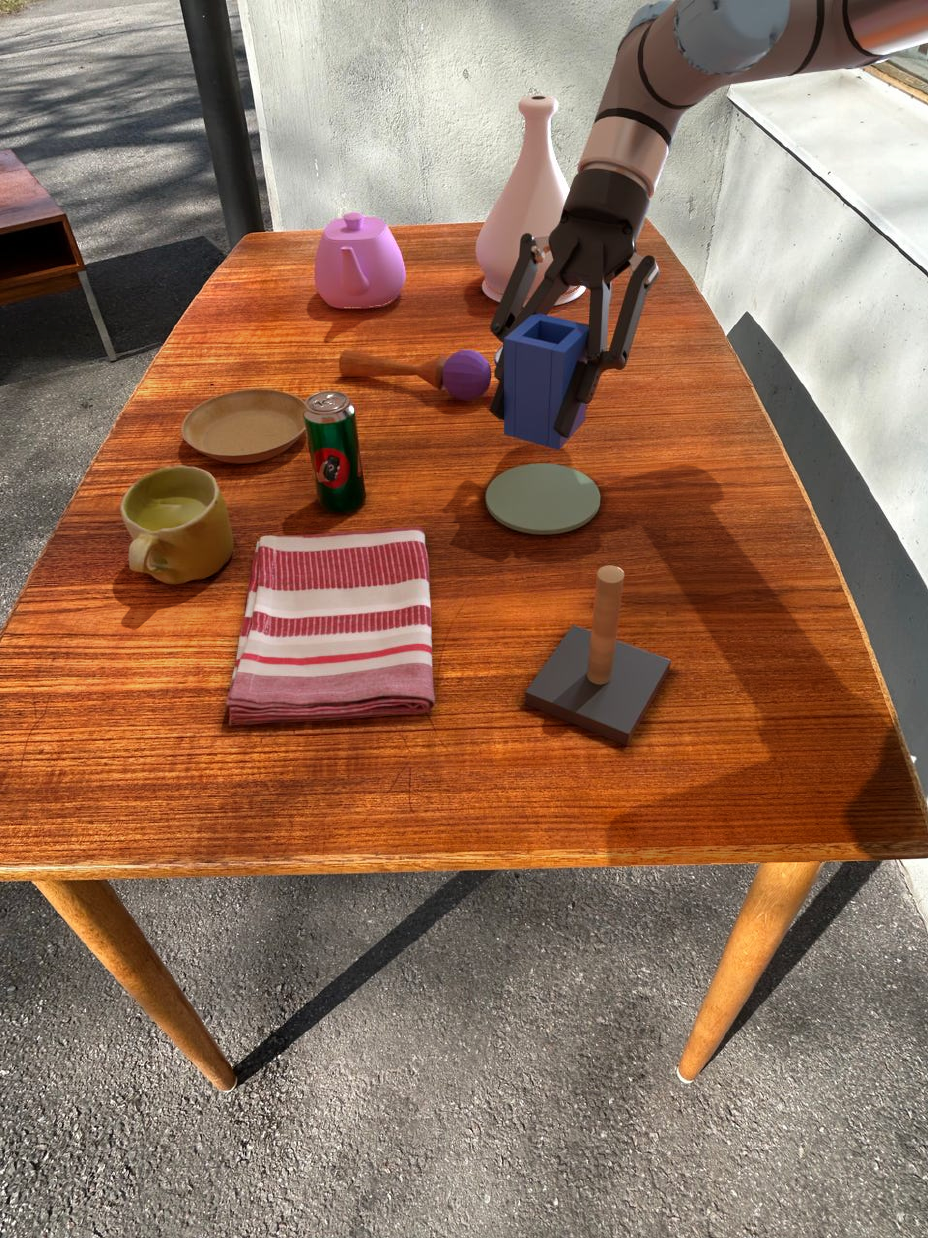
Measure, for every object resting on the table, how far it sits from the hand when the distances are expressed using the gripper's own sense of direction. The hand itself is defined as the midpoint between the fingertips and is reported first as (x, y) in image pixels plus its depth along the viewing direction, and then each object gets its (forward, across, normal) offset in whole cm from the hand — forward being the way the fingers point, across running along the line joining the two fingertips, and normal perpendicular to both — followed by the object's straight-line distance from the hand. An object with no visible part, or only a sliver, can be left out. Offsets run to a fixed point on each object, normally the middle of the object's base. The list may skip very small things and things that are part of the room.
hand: (528, 424), depth 82 cm
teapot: (-17, +46, -34) cm, 60 cm away
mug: (+24, +26, +9) cm, 36 cm away
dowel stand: (+20, -16, +5) cm, 26 cm away
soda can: (+13, +18, -3) cm, 23 cm away
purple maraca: (-4, +25, -20) cm, 32 cm away
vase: (-29, +26, -45) cm, 59 cm away
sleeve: (-1, 0, -4) cm, 4 cm away
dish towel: (+24, +8, +8) cm, 26 cm away
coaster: (+5, 0, -10) cm, 12 cm away
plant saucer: (+9, +36, -7) cm, 37 cm away
